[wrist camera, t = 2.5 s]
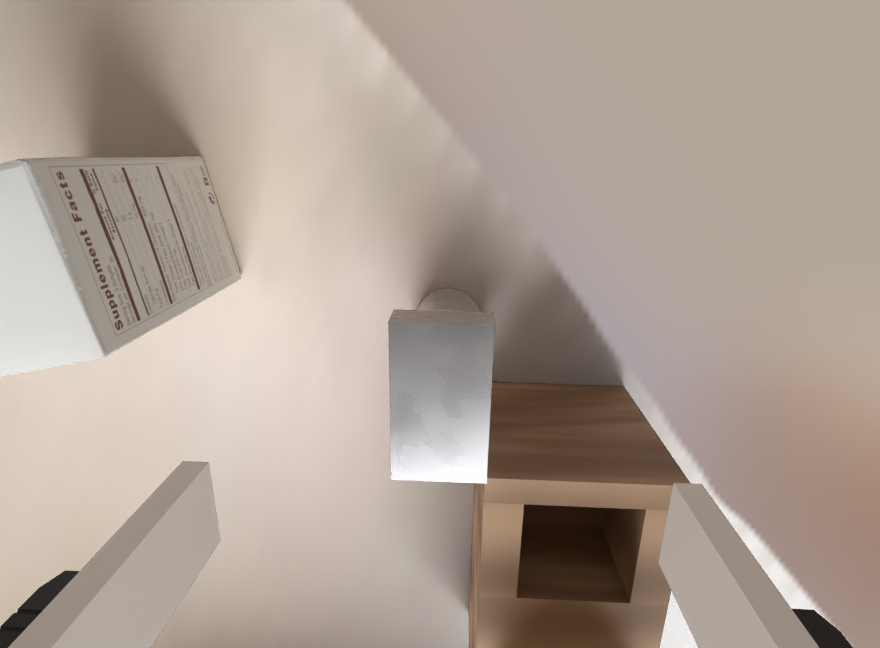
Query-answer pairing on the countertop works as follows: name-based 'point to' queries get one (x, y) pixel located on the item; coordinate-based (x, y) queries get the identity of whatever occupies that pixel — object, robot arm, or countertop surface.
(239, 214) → the countertop surface
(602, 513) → the socket block
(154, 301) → the supplement box
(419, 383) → the grey block
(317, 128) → the countertop surface
